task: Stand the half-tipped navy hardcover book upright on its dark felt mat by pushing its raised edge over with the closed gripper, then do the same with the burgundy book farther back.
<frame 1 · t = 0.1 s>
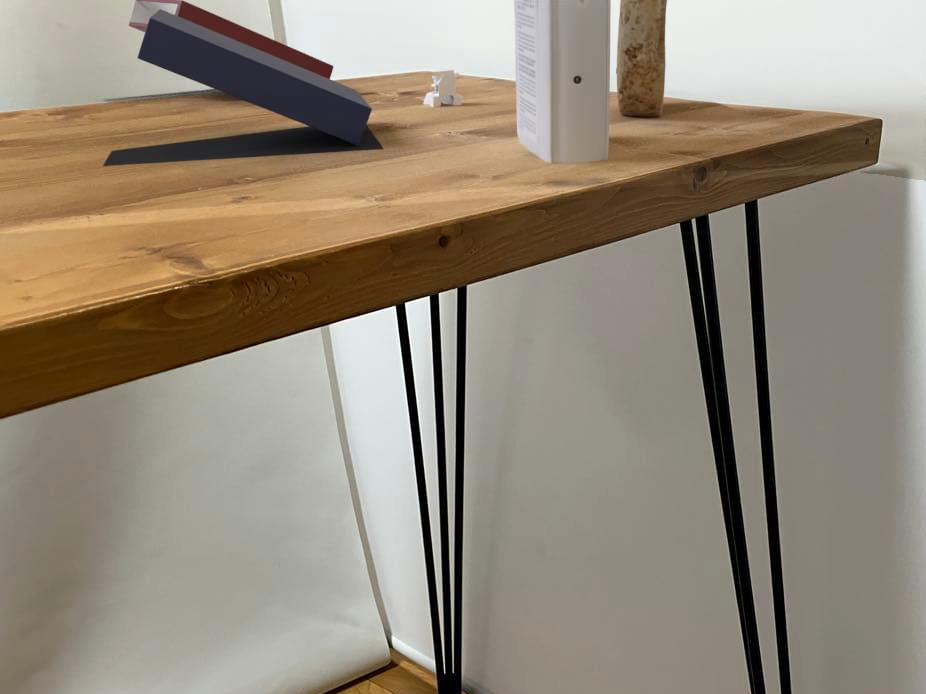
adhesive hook: (438, 111, 90), on the table
mat front: (247, 148, 75), on the table
navy book: (257, 75, 73), point 5 cm above the table, hinge at 25.0°
burgundy book: (231, 46, 95), point 5 cm above the table, hinge at 25.0°
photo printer: (561, 160, 70), on the table
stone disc: (641, 121, 84), on the table
mat back: (226, 103, 96), on the table
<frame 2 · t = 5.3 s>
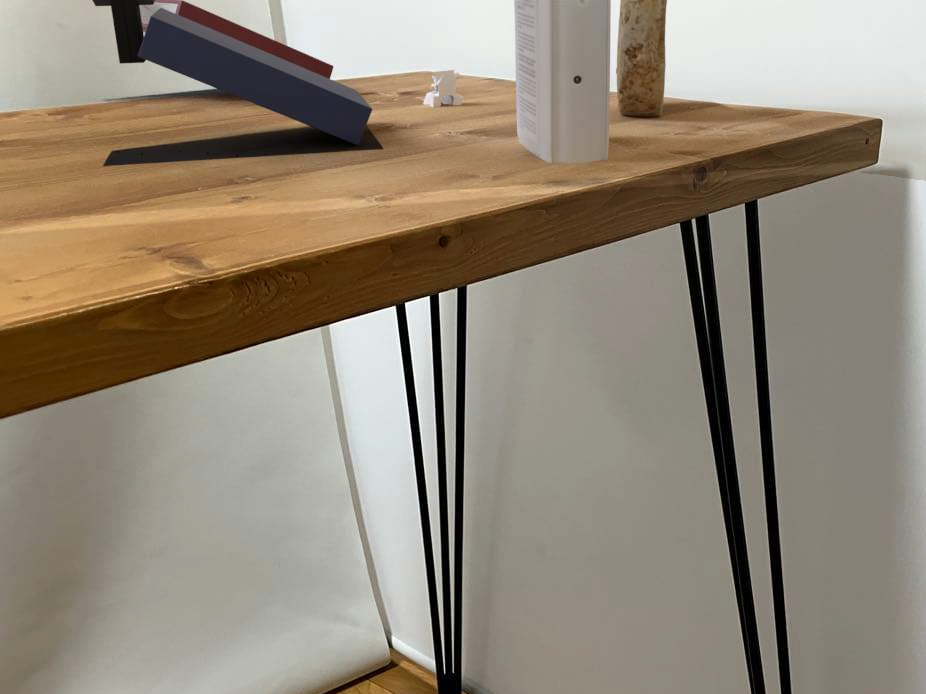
hand: (133, 60, 71), 6 cm above the table, tool pointing down, fingers closed
navy book: (257, 75, 73), point 5 cm above the table, hinge at 25.5°, touching gripper
everything else where it was.
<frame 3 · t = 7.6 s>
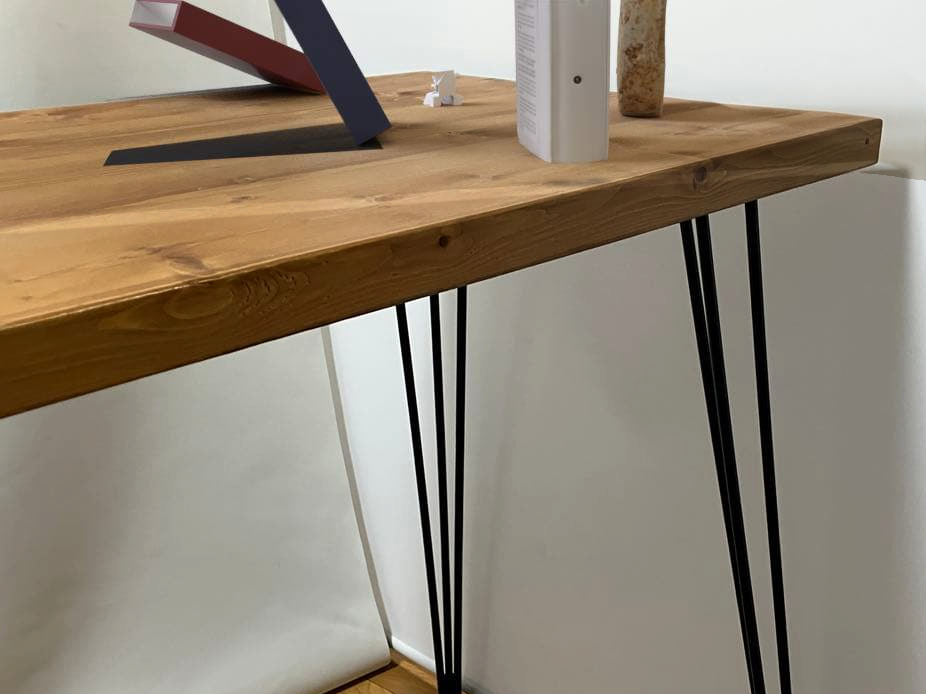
navy book: (312, 29, 73), point 7 cm above the table, hinge at 64.2°, touching gripper
everything else where it was.
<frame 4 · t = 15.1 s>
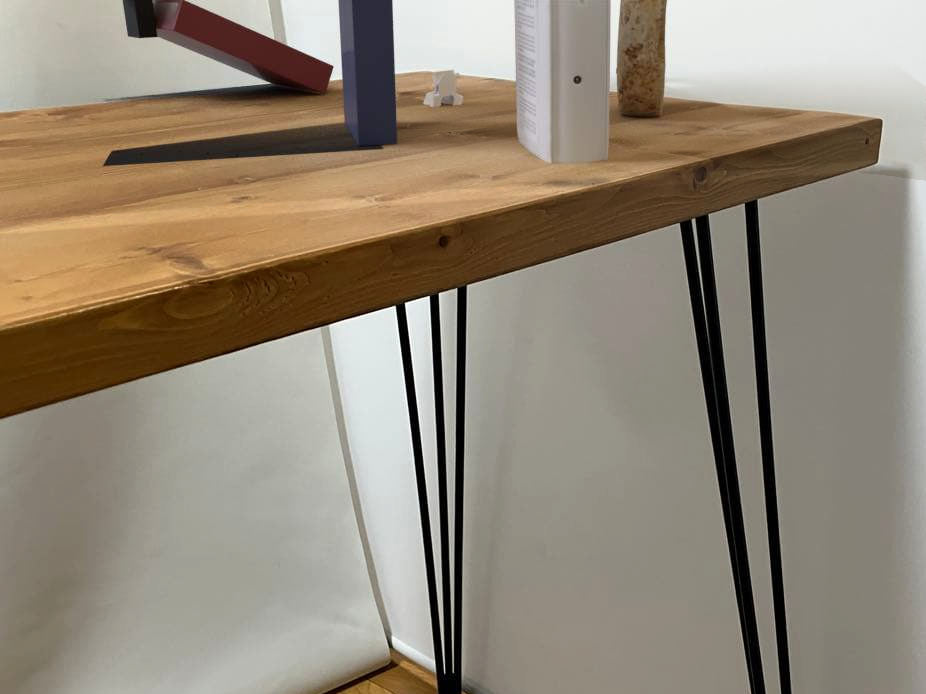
hand: (142, 36, 90), 6 cm above the table, tool pointing down, fingers closed
navy book: (364, 25, 74), point 8 cm above the table, hinge at 91.9°, touching mat front
burgundy book: (232, 45, 95), point 5 cm above the table, hinge at 25.3°, touching gripper
everything else where it was.
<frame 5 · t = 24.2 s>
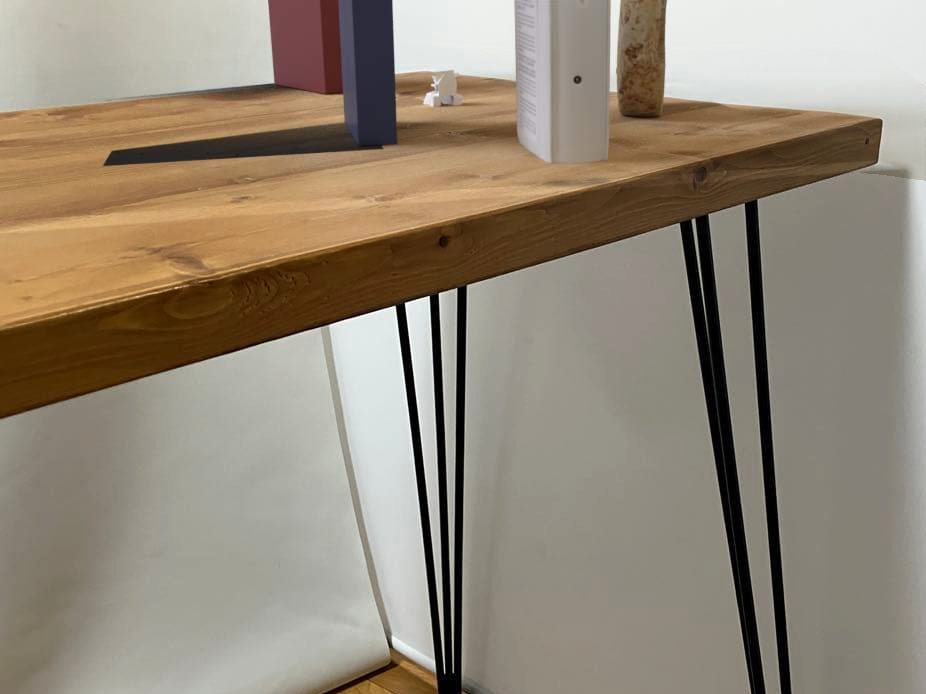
burgundy book: (305, 6, 98), point 8 cm above the table, hinge at 91.9°, touching mat back
everything else where it was.
at the end: navy book at +92° (first picture: +25°); burgundy book at +92° (first picture: +25°) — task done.
